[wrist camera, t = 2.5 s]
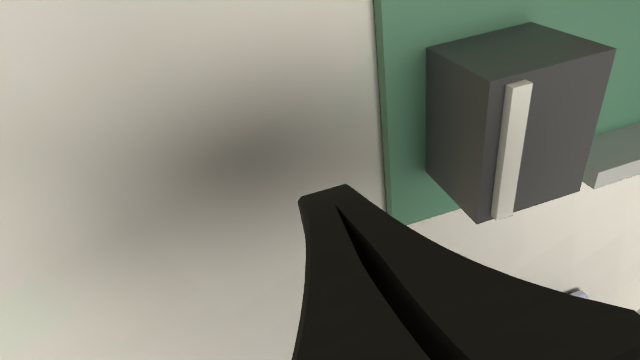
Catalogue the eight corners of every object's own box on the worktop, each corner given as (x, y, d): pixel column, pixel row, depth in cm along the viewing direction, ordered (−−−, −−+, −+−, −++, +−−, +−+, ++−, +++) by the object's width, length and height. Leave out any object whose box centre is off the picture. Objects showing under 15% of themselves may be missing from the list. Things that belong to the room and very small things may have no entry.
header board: (668, 134, 21) (748, 170, 18) (387, 220, 19) (427, 278, 16) (772, -144, 15) (920, -157, 12) (369, -66, 12) (430, -59, 9)
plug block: (513, 145, 17) (586, 195, 14) (425, 171, 17) (482, 230, 14) (530, 21, 15) (626, 51, 12) (426, 47, 14) (497, 85, 11)
